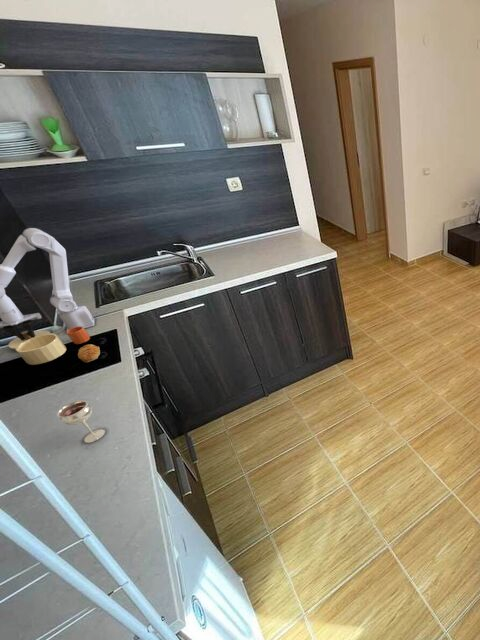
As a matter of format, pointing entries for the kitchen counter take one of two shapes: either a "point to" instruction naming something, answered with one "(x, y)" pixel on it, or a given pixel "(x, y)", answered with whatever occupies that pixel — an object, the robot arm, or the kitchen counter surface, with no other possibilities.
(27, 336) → the pot lid
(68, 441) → the kitchen counter surface
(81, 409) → the wineglass
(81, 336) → the cup
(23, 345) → the pot
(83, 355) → the pastry
